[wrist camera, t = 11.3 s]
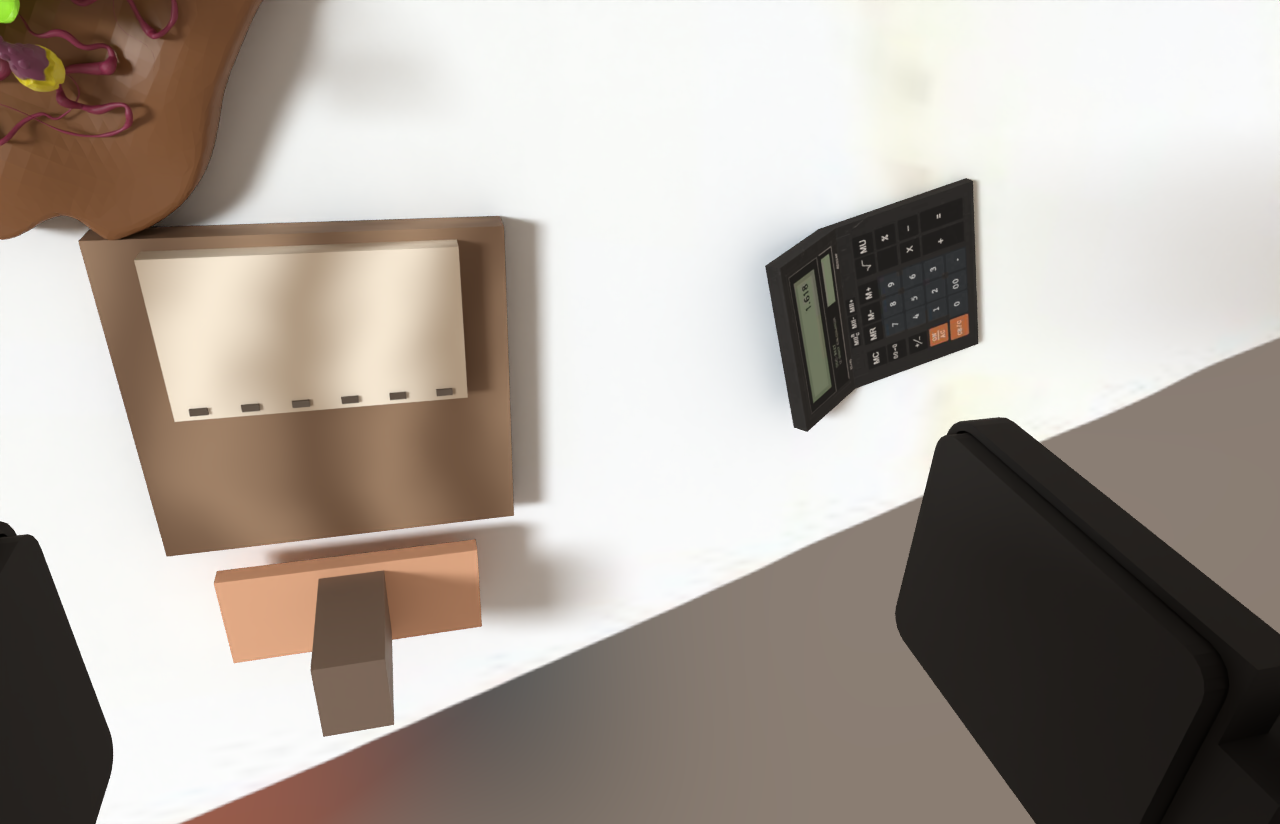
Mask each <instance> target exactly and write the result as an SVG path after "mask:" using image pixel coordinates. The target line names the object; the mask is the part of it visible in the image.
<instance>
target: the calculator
mask: <svg viewBox="0 0 1280 824" xmlns="http://www.w3.org/2000/svg"><path fill="white" fill-rule="evenodd" d="M765 267H766V273H767V278H768V284H769V290H770V295H771V301H772V306H773V312H774V318H775V323H776V329H777V335H778V340H779V346H780V352H781V357H782V363H783V368H784V374H785V380H786V385H787V391H788V397H789V402H790V408H791V414H792V419H793V425H794V428H797V429H800V430H803V431H806V432H808V431H809V430H810V429H811V428H812V427H813V426H814V425H815V424H816V423H817V422H819V421H820V420H821V419H822V418H823V417H824V416H825V415H826V414H827V413H829V412H830V411H831V410H832V409H833V408H834V407H835V406H836V405H837V404H839V403H840V402H841V401H842V400H843V399H844V398H845V397H846V396H847V395H849V394H850V393H851V392H852V391H853V390H854V389H855V388H858V387H861V386H863V385H866V384H869V383H872V382H874V381H877V380H880V379H883V378H885V377H888V376H891V375H894V374H896V373H899V372H902V371H905V370H907V369H910V368H913V367H916V366H918V365H921V364H924V363H927V362H929V361H932V360H935V359H938V358H940V357H943V356H946V355H949V354H951V353H954V352H957V351H960V350H962V349H965V348H968V347H971V346H973V345H976V344H978V322H977V292H976V263H975V233H974V203H973V181H971V180H969V179H967V178H966V179H963V180H960V181H957V182H954V183H951V184H948V185H945V186H942V187H940V188H937V189H934V190H931V191H928V192H925V193H922V194H919V195H916V196H913V197H911V198H908V199H905V200H902V201H899V202H896V203H893V204H890V205H887V206H884V207H882V208H879V209H876V210H873V211H870V212H867V213H864V214H861V215H858V216H855V217H853V218H850V219H847V220H844V221H841V222H838V223H835V224H832V225H829V226H826V227H824V228H821V229H818V230H817V231H815V232H814V233H813V234H811V235H810V236H808V237H807V238H805V239H804V240H802V241H801V242H799V243H798V244H797V245H795V246H794V247H792V248H791V249H789V250H788V251H786V252H785V253H783V254H782V255H781V256H779V257H778V258H776V259H775V260H773V261H772V262H770V263H769V264H767V265H766V266H765Z"/></svg>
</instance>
